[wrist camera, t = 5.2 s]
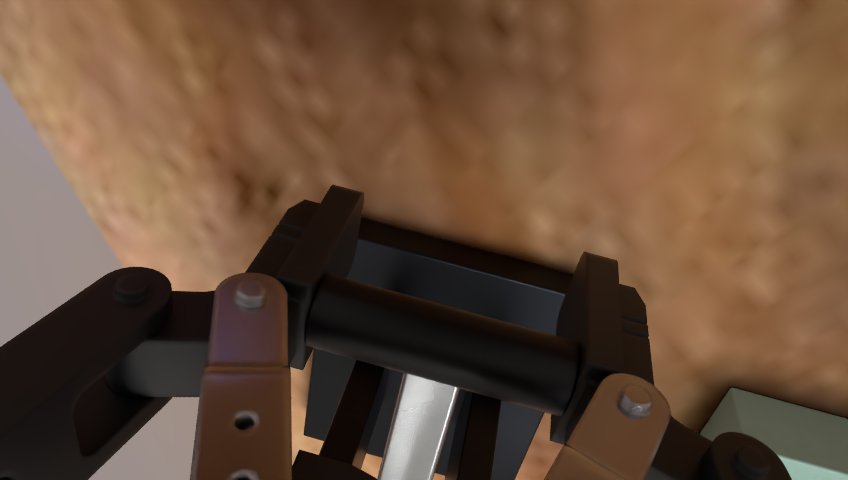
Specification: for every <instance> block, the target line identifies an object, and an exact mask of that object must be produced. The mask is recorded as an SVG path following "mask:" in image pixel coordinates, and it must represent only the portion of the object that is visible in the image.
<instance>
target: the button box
mask: <svg viewBox="0 0 848 480" xmlns="http://www.w3.org/2000/svg"><path fill="white" fill-rule="evenodd" d="M725 432H738V433H743V434H746V435H749V436H751V437H754V438H756V439H757V440H759V441H761V442H762V443H764V444H765V445H767V446H768V447H769V448H770V449H771V450H773V451H774V452H775V453H776V455H777V456H778V457H779V458H780V459H781V461H782V462H783V464H784V465H785V467H786V469H787V471H788V473H789V475H790V477H791V478H792V480H848V419H846V418H843V417H839V416H835V415H832V414H828V413H824V412H821V411H817V410H813V409H809V408H806V407H802V406H798V405H795V404H791V403H787V402H784V401H780V400H776V399H773V398H769V397H765V396H762V395H758V394H754V393H751V392H747V391H743V390H740V389H736V388H730V389H729V391H728V392H727V394H726V395H725V397H724V398H723V400H722V401H721V403H720V404H719V406H718V407H717V409H716V410H715V412H714V413H713V415H712V416H711V418H710V419H709V421H708V422H707V424H706V425H705V427H704V428H703V430H702V431H701V433H700V435H702V436H704V437H705V438H707V439H709V440H711V441H713V440H714V439H715V438H716V437H717V436H718V435H720V434H722V433H725Z"/></svg>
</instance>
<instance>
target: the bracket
mask: <svg viewBox="0 0 848 480" xmlns="http://www.w3.org/2000/svg"><path fill="white" fill-rule="evenodd" d="M572 278H573V274H570V273H566V272H562V271H558V270H555V269H551V268H547V267H544V266H540V265H536V264H532V263H529V262H525V261H521V260H517V259H514V258H510V257H506V256H502V255H499V254H495V253H491V252H487V251H484V250H480V249H476V248H472V247H469V246H465V245H461V244H457V243H454V242H450V241H446V240H442V239H439V238H435V237H431V236H427V235H424V234H420V233H416V232H412V231H409V230H405V229H401V228H397V227H394V226H390V225H386V224H382V223H379V222H375V221H371V220H367V219H364V218H361V222H360V229H359V235H358V242H357V248H356V252H355V256H354V260H353V263H352V266H351V269H350V271H349V274H348V276H347V279H350V280H354V281H358V282H361V283H365V284H369V285H372V286H376V287H380V288H383V289H387V290H391V291H394V292H398V293H402V294H406V295H409V296H413V297H417V298H420V299H424V300H428V301H431V302H435V303H439V304H442V305H446V306H450V307H453V308H457V309H461V310H464V311H468V312H472V313H475V314H479V315H483V316H486V317H490V318H494V319H497V320H501V321H505V322H508V323H512V324H516V325H519V326H523V327H527V328H530V329H534V330H538V331H541V332H545V333H549V334H552V335H556V326H557V320H558V316H559V312H560V308H561V305H562V302H563V300H564V297H565V295H566V292H567V290H568V287H569V285H570V283H571V280H572ZM403 374H404V373H402V372H399V371H395V370H391V369H388V368H384V367H381V366H377V365H373V364H370V363H366V362H363V361H359V360H355V359H352V358H348V357H345V356H341V355H338V354H334V353H330V352H327V351H323V350H320V349H316V348H314V351H313V360H312V368H311V376H310V385H309V393H308V402H307V410H306V418H305V427H304V435H305V436H308V437H312V438H315V439H319V440H322V441H324V443H323V446H322V448H321V451H320V453H319V455H320V456H323V457H327V458H330V459H334V460H337V461H341V462H344V463H348V464H351V465H353V466H355V467H357V468H358V469H360V470H361V467H362V464H363V461H364V458H365V455H366V453H368V454H371V455H375V456H378V457H382V458H383V455H384V451H385V447H386V442H387V438H388V434H389V430H390V426H391V422H392V418H393V414H394V410H395V406H396V402H397V398H398V394H399V390H400V386H401V382H402V378H403ZM543 414H544V412H542V411H538V410H535V409H531V408H528V407H524V406H521V405H517V404H513V403H510V402H506V401H503V400H499V399H495V398H492V397H488V396H485V395H481V394H477V393H474V392H470V391H467V390H463V389H460V390H459V393H458V396H457V400H456V403H455V406H454V410H453V413H452V416H451V420H450V423H449V426H448V430H447V433H446V436H445V440H444V443H443V446H442V450H441V453H440V456H439V459H438V463H437V466H436V469H435V473H437V474H441V475H444V476H445V480H515V478H516V476H517V473H518V471H519V469H520V466H521V464H522V462H523V460H524V457H525V455H526V453H527V451H528V448H529V446H530V444H531V442H532V439H533V437H534V435H535V433H536V430H537V428H538V426H539V424H540V421H541V419H542V417H543Z"/></svg>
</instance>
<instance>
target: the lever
mask: <svg viewBox="0 0 848 480" xmlns="http://www.w3.org/2000/svg"><path fill="white" fill-rule="evenodd" d="M304 339H305V344H306V345H307V346H309V347H312V348H316V349H320V350H323V351H327V352H330V353H334V354H338V355H341V356H345V357H348V358H352V359H355V360H359V361H363V362H366V363H370V364H373V365H377V366H381V367H384V368H388V369H391V370H395V371H399V372H402V373H404V374H403V378H402V382H401V386H400V390H399V394H398V398H397V402H396V406H395V410H394V414H393V418H392V422H391V426H390V430H389V434H388V438H387V442H386V447H385V451H384V455H383V459H382V463H381V467H380V471H379V475H378V480H432V479H433V476H434V473H435V469H436V466H437V463H438V459H439V456H440V453H441V450H442V446H443V443H444V440H445V436H446V433H447V430H448V426H449V423H450V420H451V416H452V413H453V410H454V406H455V403H456V400H457V396H458V393H459V390H460V389H463V390H467V391H470V392H474V393H477V394H481V395H485V396H488V397H492V398H495V399H499V400H503V401H506V402H510V403H513V404H517V405H521V406H524V407H528V408H531V409H535V410H538V411H542V412H546V413H549V414H553V415H556V416H562V415H563V414H564V413H565V411H566V410H567V408H568V406H569V404H570V401H571V399H572V396H573V393H574V390H575V386H576V382H577V378H578V373H579V367H580V357H581V350H580V344H579V343H578V342H577V341H574V340H571V339H567V338H563V337H560V336H556V335H552V334H549V333H545V332H541V331H538V330H534V329H530V328H527V327H523V326H519V325H516V324H512V323H508V322H505V321H501V320H497V319H494V318H490V317H486V316H483V315H479V314H475V313H472V312H468V311H464V310H461V309H457V308H453V307H450V306H446V305H442V304H439V303H435V302H431V301H428V300H424V299H420V298H417V297H413V296H409V295H406V294H402V293H398V292H394V291H391V290H387V289H383V288H380V287H376V286H372V285H369V284H365V283H361V282H358V281H354V280H350V279H347V278H343V277H339V276H336V275H332V274H325V275H324V277H323V278H322V279H321V281H320V283H319V285H318V287H317V289H316V292H315V294H314V297H313V300H312V303H311V306H310V310H309V313H308V317H307V321H306V326H305V334H304Z"/></svg>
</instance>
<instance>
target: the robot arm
mask: <svg viewBox="0 0 848 480" xmlns="http://www.w3.org/2000/svg"><path fill="white" fill-rule="evenodd" d="M363 203H364V193H363V192H359V191H355V190H351V189H348V188H344V187H340V186H336V185H332V186H331V187H330V189H329V190H328V192H327V194H326V195H325V197H324V199H323V200H322V202H321V203H316V202H313V201H309V200H303V201H302V202H300V203H298V204H296V205H295V206H293V207H291V208H289V209H288V210H287V212H286V213H285V215H284V216H283V218H282V219H281V221H280V222H279V225H277V226H276V228H275V229H274V231H273V232H272V235H271V236H270V237H269V238H268V240H267V241H266V243H265V244H264V246H263V247H262V249H261V250H260V252H259V253H258V254H257V256H256V257H255V259H254V260H253V262H252V263H251V265H250V266H249V268H248V269H247V271H246V272H245V273H240V274H236V275H233V276H231V277H228V278H227V279H225V280H224V281H222V282H221V283H220V284H219V285H218V287H217V288H216V290H215V291H208V292H187V291H172V288H171V283H170V281H169V280H168V278H167V277H166V276H165V275H163V274H162V273H160V272H159V271H156V270H154V269H150V268H144V267H128V268H122V269H119V270H115V271H113V272H110V273H108V274H107V275H105V276H103V277H102V278H100V279H99V280H97V281H96V282H95V283H93V284H92V285H90V286H89V287H87V288H86V289H84V290H83V291H81V292H80V293H79V294H77V295H76V296H74V297H73V298H71V299H70V300H68V301H67V302H65V303H64V304H62V305H61V306H60V307H58V308H57V309H55V310H54V311H52V312H51V313H49V314H48V315H46V316H45V317H43V318H42V319H41V320H39V321H38V322H36V323H35V324H34V325H32V326H31V327H29V328H27V329H26V330H25V331H23V332H22V333H20V334H19V335H17V336H16V337H14V338H13V339H11V340H10V341H8V342H7V343H6V344H4V345H3V346H2V347H0V480H88V479H89V478H90V477H91V476H92V475H93V474H94V473H95V472H96V471H97V470H98V469H99V468H100V467H101V466H102V465H104V464H105V463H106V461H108V460H109V459H110V458H111V457H112V456H113V455H114V454H115V453H116V452H117V451H118V450H119V449H120V448H121V447H122V446H123V445H124V444H125V443H126V442H127V441H128V440H129V439H130V438H132V437H133V436H134V435H135V434H136V433H137V432H138V431H139V430H140V429H141V428H142V427H143V426H144V425H145V424H146V423H147V422H148V421H149V420H150V419H151V418H152V417H153V416H154V415H155V414H156V413H157V412H158V411H159V410H161V409H162V408H163V407H164V406H165V405H166V404H167V403H168V402H169V401H170V400H171V398H172V397H200V398H199V406H198V416H197V423H196V432H195V441H194V449H193V458H192V466H191V475H190V480H378V479H376V478H375V477H373V476H371V475H369V474H367V473H366V472H364V471H362V470H360V469H358V468H357V467H355V466H353V465H351V464H348V463H344V462H341V461H337V460H334V459H330V458H327V457H323V456H320V455H316V454H313V453H309V452H306V451H302V450H299V452H298V454H297V456H296V459H295V461H294V464H293V466H292V433H291V371H290V367H293V368H296V369H300V370H303V369H304V367H305V365H306V363H307V360H308V358H309V356H310V354H311V352H312V350H313V348H312V347H309V346H307V345H306V344H305V339H304V334H305V326H306V321H307V317H308V313H309V310H310V306H311V303H312V300H313V297H314V294H315V292H316V289H317V287H318V285H319V283H320V281H321V279H322V278H323V277H324V275H325V274H332V275H336V276H339V277H343V278H347V276H348V274H349V271H350V269H351V266H352V263H353V260H354V256H355V252H356V248H357V242H358V235H359V229H360V222H361V216H362V209H363ZM556 336H560V337H563V338H567V339H571V340H574V341H577V342H578V343H579V344H580V350H581V357H580V367H579V373H578V378H577V382H576V386H575V390H574V393H573V396H572V399H571V401H570V404H569V406H568V408H567V410H566V411H565V413H564V414H563V415H562V416H556V415H553V414H551V429H550V441H553V442H557V443H560V444H564V446H563V447H562V449H561V451H560V452H559V454H558V456H557V458H556V459H555V461H554V463H553V465H552V466H551V468H550V470H549V471H548V473H547V475H546V477H545V478H544V480H792V478H791V477H790V475H789V473H788V471H787V469H786V467H785V465H784V464H783V462H782V461H781V459H780V458H779V457H778V456H777V455H776V453H775V452H774V451H773V450H771V449H770V448H769V447H768V446H767V445H765V444H764V443H762V442H761V441H759V440H757V439H756V438H754V437H751V436H749V435H746V434H743V433H738V432H725V433H722V434H720V435H718V436H717V437H716V438H715V439H714V440H713V441H711V440H709V439H707V438H705V437H704V436H702V435H700V434H698V433H696V432H694V431H692V430H691V429H689V428H687V427H685V426H684V425H682V424H681V423H679V422H678V421H677V420H675V419H674V418H673V417H672V416H671V411H670V406H669V404H668V402H667V400H666V398H665V397H664V396H663V394H662V393H661V392H660V391H659V390H658V389H657V388H656V387H655V386H654V380H653V371H652V361H651V352H650V343H649V339H648V336H649V334H648V325H647V315H646V306H645V304H644V302H643V301H642V299H641V297H640V296H639V294H638V293H637V291H636V289H635V288H633V287H629V286H625V285H622V284H619V274H618V262H617V260H614V259H610V258H606V257H602V256H598V255H595V254H591V253H587V252H584V253H583V254H582V256H581V258H580V260H579V263H578V265H577V268H576V270H575V273H574V275H573V278H572V280H571V283H570V285H569V287H568V290H567V292H566V295H565V297H564V300H563V302H562V305H561V308H560V312H559V316H558V320H557V326H556Z"/></svg>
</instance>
